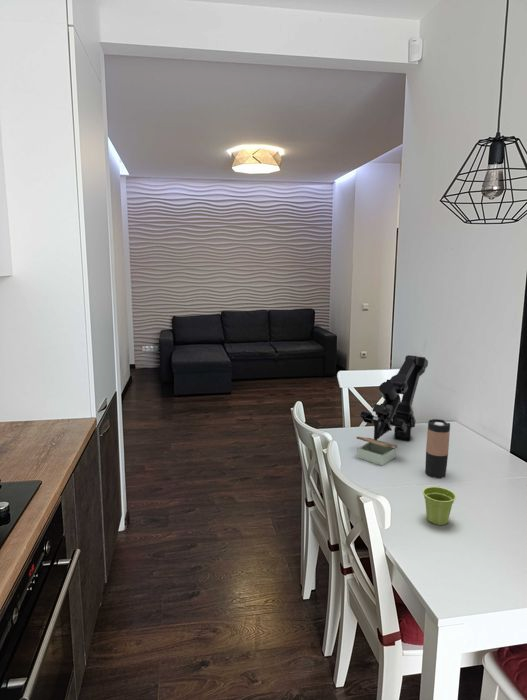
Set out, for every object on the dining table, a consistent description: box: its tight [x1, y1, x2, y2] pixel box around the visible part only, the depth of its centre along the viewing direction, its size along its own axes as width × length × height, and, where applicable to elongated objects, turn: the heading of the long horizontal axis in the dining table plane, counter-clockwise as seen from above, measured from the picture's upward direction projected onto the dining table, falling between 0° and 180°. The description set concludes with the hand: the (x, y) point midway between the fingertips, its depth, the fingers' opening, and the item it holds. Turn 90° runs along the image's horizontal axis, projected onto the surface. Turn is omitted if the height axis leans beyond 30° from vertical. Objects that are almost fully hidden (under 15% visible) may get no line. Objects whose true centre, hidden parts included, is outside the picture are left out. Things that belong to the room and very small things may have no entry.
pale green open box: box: [357, 442, 396, 466], centre depth 188 cm, size 10×11×4 cm
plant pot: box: [422, 486, 457, 526], centre depth 143 cm, size 9×9×9 cm
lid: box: [356, 436, 398, 449], centre depth 187 cm, size 12×12×1 cm
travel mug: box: [424, 418, 451, 479], centre depth 172 cm, size 8×8×20 cm
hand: (375, 439), depth 186 cm, fingers closed
